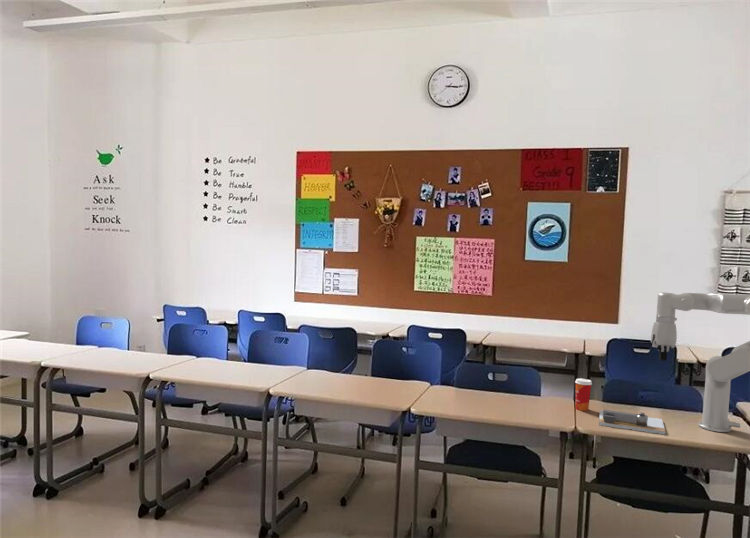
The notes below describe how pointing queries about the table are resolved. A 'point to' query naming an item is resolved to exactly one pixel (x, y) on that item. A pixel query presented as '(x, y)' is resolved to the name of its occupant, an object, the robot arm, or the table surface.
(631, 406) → the table surface
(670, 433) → the table surface
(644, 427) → the door board
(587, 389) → the paper cup
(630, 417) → the latch bar
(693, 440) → the table surface
